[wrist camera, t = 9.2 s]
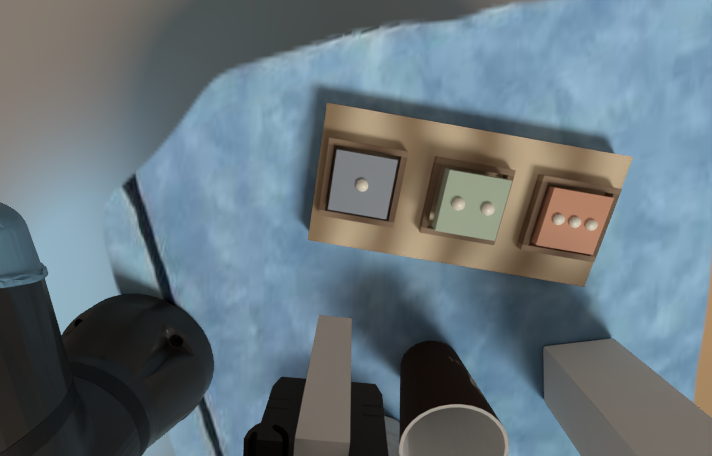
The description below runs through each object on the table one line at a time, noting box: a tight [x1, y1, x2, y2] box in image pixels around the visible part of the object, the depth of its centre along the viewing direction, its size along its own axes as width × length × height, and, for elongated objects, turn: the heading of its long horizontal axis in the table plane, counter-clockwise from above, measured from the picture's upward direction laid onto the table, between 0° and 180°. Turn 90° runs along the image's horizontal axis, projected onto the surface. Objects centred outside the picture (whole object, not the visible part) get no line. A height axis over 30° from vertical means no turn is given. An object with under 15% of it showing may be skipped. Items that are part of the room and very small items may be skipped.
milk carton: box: [543, 339, 712, 456], centre depth 27 cm, size 7×7×19 cm
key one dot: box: [328, 149, 398, 219], centre depth 29 cm, size 5×5×2 cm
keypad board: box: [308, 103, 633, 287], centre depth 30 cm, size 26×12×3 cm, turn 80°
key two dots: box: [432, 168, 512, 241], centre depth 28 cm, size 5×5×2 cm
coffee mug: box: [399, 341, 509, 456], centre depth 32 cm, size 12×9×10 cm
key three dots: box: [530, 185, 614, 255], centre depth 29 cm, size 5×5×2 cm
